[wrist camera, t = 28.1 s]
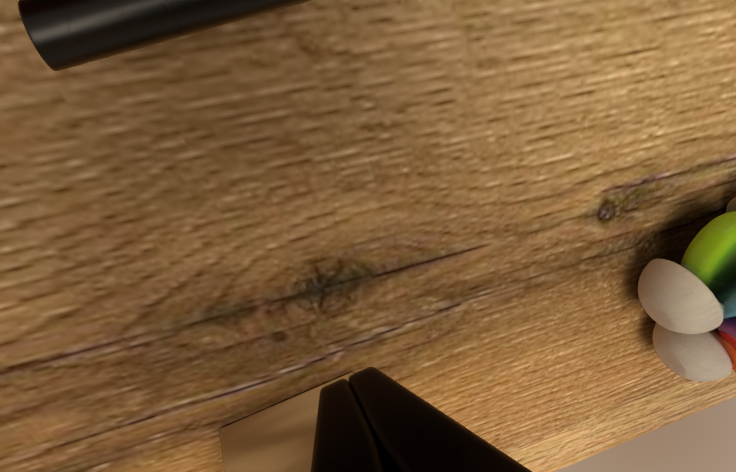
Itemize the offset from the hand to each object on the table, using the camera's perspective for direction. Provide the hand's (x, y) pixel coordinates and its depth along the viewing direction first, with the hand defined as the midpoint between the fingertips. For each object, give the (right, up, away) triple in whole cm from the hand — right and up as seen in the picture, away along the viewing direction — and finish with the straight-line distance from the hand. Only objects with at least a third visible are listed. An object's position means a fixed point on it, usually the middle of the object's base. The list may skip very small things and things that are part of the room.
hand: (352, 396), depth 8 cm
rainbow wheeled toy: (+18, +1, +20) cm, 26 cm away
